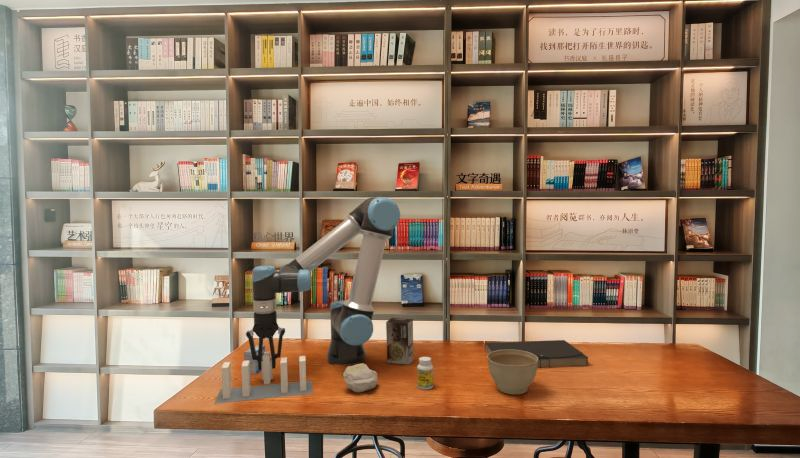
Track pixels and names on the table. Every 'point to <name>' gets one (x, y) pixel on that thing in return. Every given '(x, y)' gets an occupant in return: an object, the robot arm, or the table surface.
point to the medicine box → (253, 363)
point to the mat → (265, 392)
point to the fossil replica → (360, 378)
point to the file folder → (545, 352)
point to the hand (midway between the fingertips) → (267, 378)
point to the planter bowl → (512, 370)
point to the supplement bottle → (425, 373)
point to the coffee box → (399, 340)
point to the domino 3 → (266, 367)
